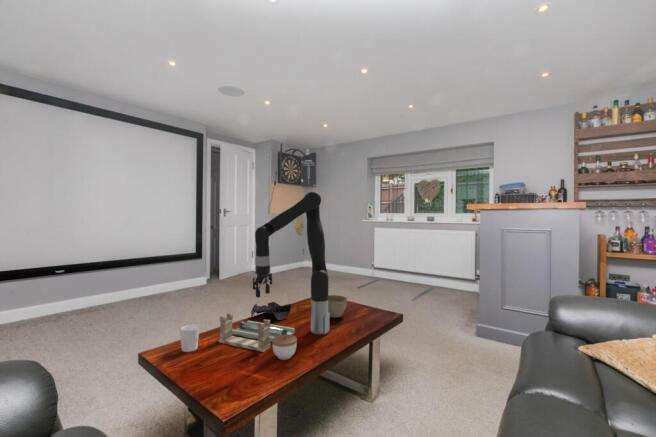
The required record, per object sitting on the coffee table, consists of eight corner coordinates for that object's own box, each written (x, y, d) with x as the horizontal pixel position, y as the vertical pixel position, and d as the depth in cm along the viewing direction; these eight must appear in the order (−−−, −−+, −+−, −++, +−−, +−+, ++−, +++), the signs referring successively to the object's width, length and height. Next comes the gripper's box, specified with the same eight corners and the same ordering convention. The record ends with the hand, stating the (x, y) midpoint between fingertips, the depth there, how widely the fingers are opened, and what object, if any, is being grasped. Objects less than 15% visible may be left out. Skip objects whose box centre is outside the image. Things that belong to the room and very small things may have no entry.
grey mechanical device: (273, 310, 195) (273, 296, 195) (292, 317, 182) (292, 303, 182) (249, 317, 182) (249, 302, 182) (268, 325, 169) (268, 309, 169)
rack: (270, 346, 140) (271, 320, 140) (263, 352, 135) (263, 324, 135) (227, 337, 150) (227, 313, 150) (218, 342, 145) (218, 316, 145)
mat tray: (294, 332, 158) (294, 328, 158) (279, 343, 144) (279, 339, 144) (248, 324, 169) (248, 320, 169) (230, 334, 155) (230, 329, 155)
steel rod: (287, 334, 153) (287, 328, 152) (284, 337, 150) (283, 331, 149) (243, 326, 163) (242, 320, 163) (239, 329, 160) (238, 323, 160)
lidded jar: (275, 350, 136) (275, 330, 136) (298, 351, 136) (298, 330, 136) (269, 362, 126) (269, 340, 126) (295, 362, 125) (295, 340, 125)
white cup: (202, 347, 139) (202, 326, 139) (188, 354, 132) (188, 331, 132) (190, 344, 143) (190, 323, 143) (176, 350, 135) (176, 329, 135)
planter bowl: (347, 320, 178) (347, 301, 178) (320, 319, 178) (320, 301, 178) (346, 311, 194) (346, 294, 194) (321, 311, 194) (321, 294, 194)
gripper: (260, 266, 148) (260, 299, 148) (276, 262, 162) (276, 292, 162) (248, 266, 151) (248, 298, 151) (264, 262, 164) (264, 291, 164)
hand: (262, 295), depth 156 cm, fingers open, 8 cm apart
